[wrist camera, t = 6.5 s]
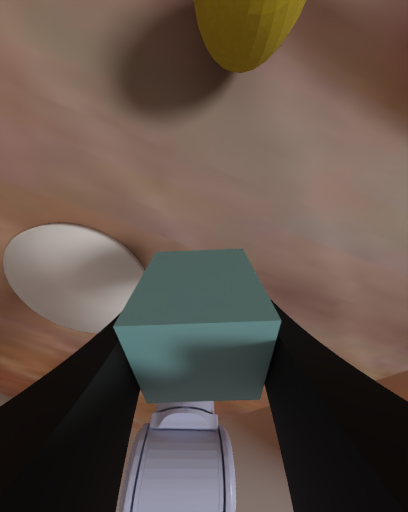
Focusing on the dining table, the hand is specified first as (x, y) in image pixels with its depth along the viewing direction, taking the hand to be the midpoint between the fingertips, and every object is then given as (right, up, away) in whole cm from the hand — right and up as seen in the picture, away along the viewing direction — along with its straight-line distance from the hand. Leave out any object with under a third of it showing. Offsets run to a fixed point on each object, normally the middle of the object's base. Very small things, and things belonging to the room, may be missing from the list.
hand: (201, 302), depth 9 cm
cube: (0, +1, +1) cm, 2 cm away
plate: (-15, -1, +11) cm, 19 cm away
